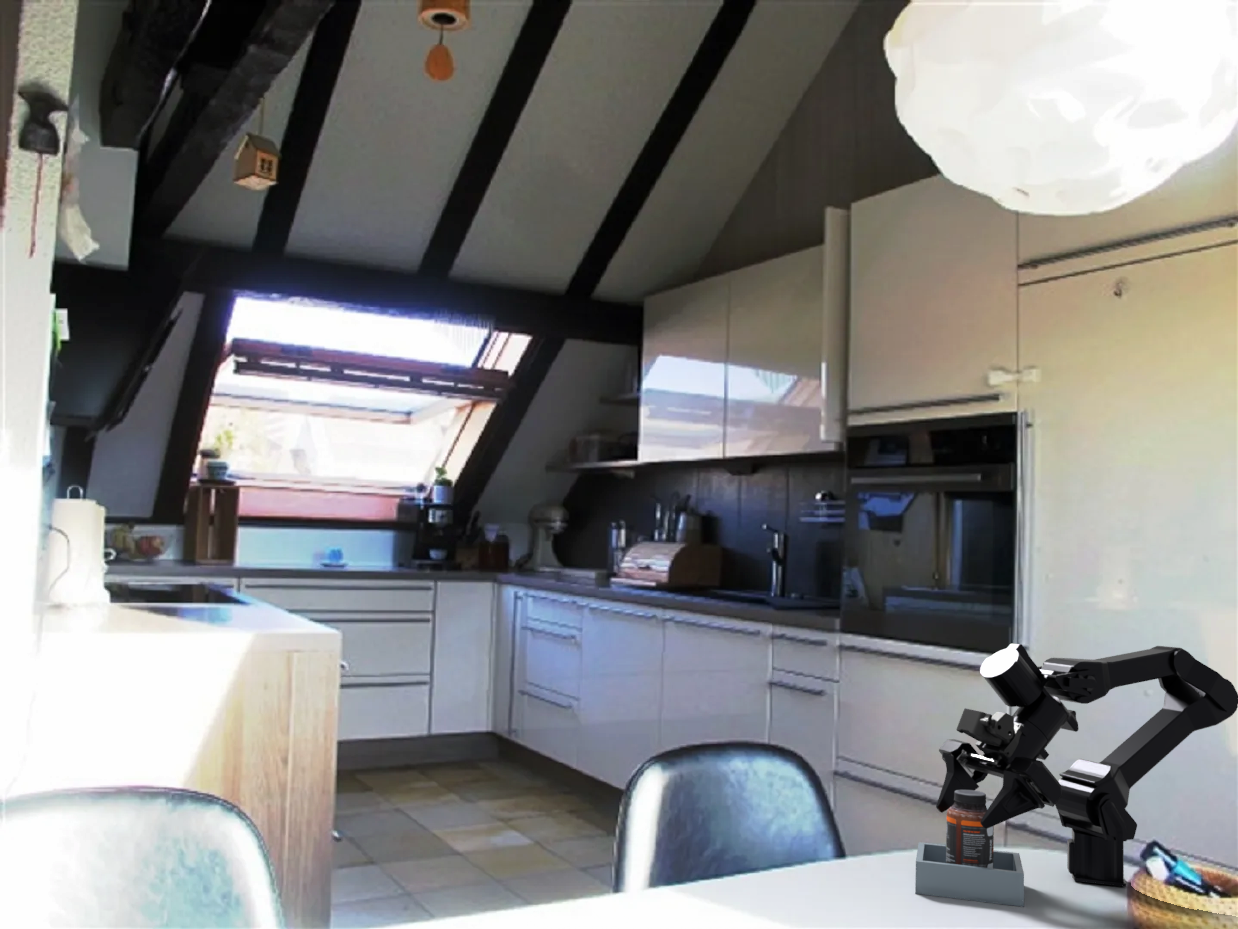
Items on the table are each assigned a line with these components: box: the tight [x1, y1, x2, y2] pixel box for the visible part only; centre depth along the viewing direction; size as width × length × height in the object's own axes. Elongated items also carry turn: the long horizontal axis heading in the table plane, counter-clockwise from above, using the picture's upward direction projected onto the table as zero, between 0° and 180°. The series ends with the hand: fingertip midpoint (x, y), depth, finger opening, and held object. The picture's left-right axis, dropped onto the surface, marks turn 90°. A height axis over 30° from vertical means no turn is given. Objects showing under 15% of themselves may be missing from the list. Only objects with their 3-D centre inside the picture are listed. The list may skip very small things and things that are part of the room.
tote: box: [914, 841, 1025, 908], centre depth 142 cm, size 13×11×4 cm
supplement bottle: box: [945, 790, 995, 869], centre depth 143 cm, size 6×6×11 cm
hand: (960, 818), depth 143 cm, fingers open, 9 cm apart
